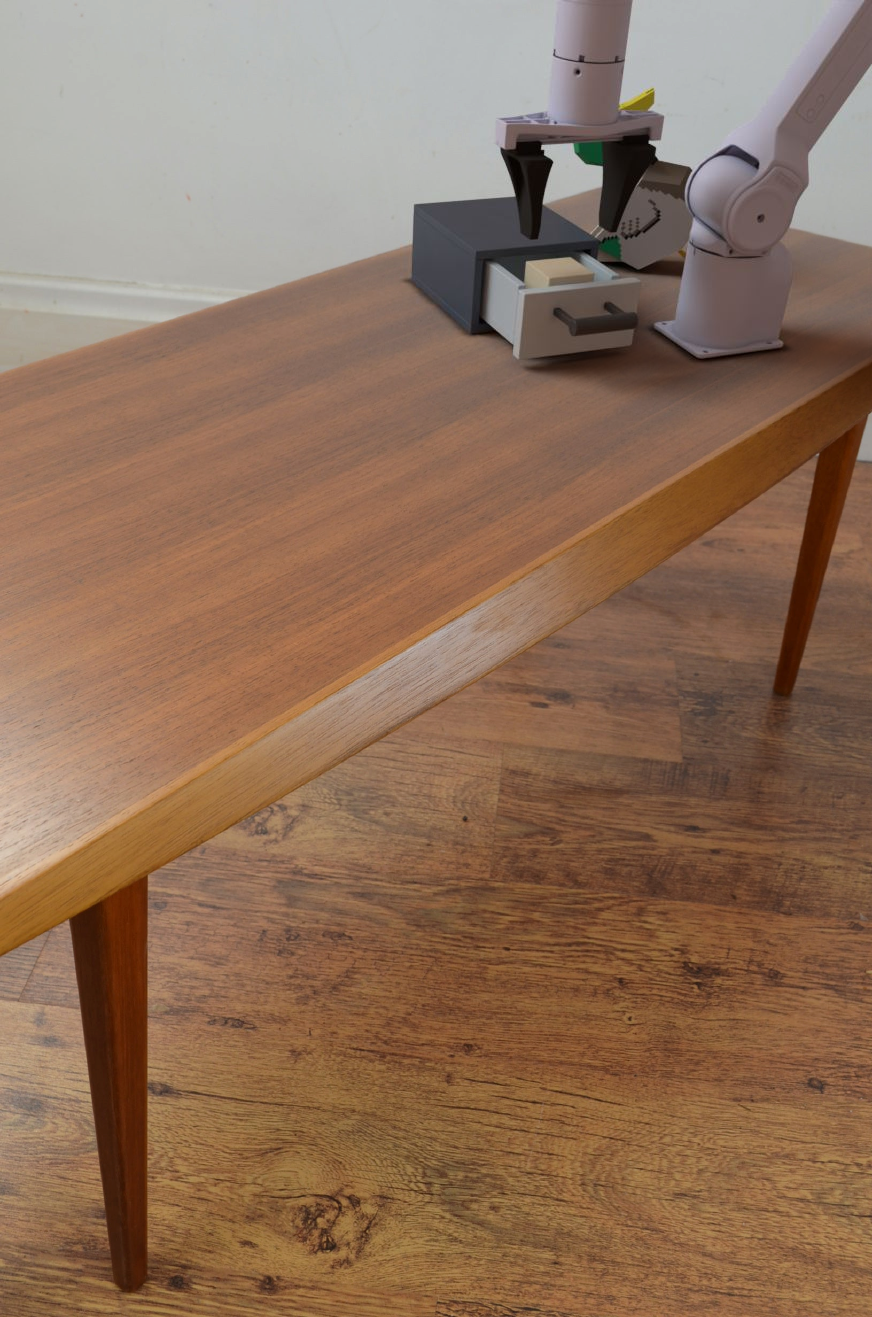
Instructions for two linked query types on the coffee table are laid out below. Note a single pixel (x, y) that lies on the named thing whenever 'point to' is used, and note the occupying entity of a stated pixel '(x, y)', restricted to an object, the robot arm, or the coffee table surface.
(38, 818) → the coffee table surface
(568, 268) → the block
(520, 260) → the drawer
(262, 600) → the coffee table surface
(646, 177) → the toy
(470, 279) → the cabinet
